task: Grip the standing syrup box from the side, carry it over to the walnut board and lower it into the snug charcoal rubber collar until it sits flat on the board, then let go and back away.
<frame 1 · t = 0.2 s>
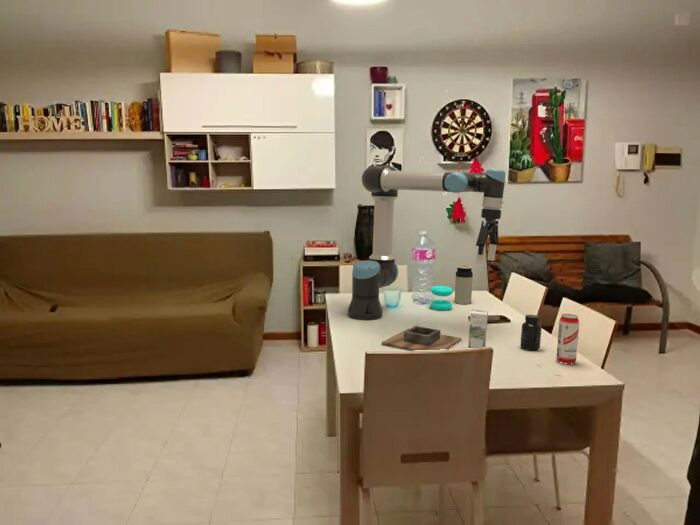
hand: (485, 261, 224), 27 cm above the table, tool pointing down, fingers open, 13 cm apart
syrup box: (476, 351, 198), on the table
supplement bottle: (530, 348, 202), on the table
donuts: (441, 309, 259), on the table
travel mug: (462, 303, 271), on the table
collar board: (422, 342, 206), on the table
butter knife: (535, 365, 186), on the table
beer can: (565, 362, 188), on the table
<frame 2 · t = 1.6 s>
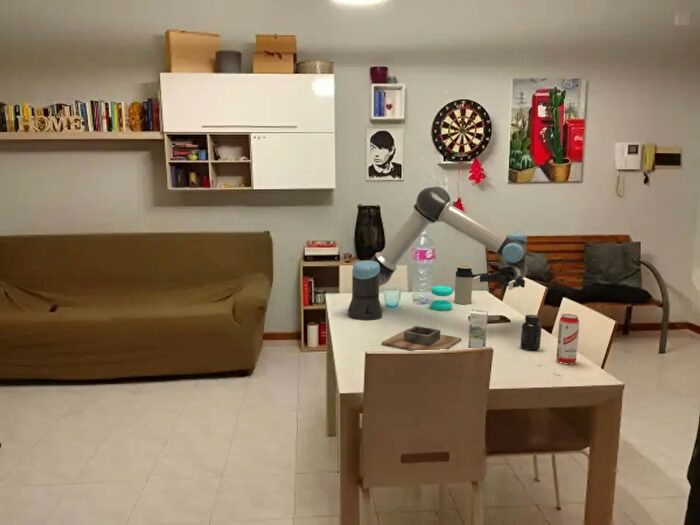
hand: (490, 284, 204), 22 cm above the table, tool horizontal, fingers open, 13 cm apart
nothing on the table moved.
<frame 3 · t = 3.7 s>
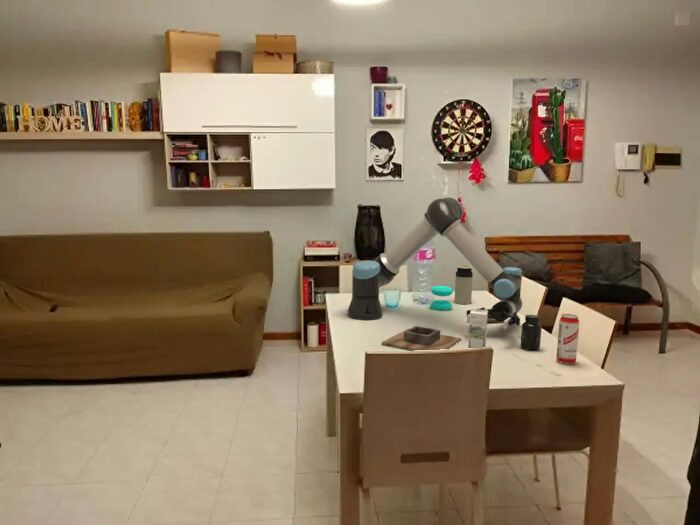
hand: (485, 322, 202), 9 cm above the table, tool horizontal, fingers open, 13 cm apart
nothing on the table moved.
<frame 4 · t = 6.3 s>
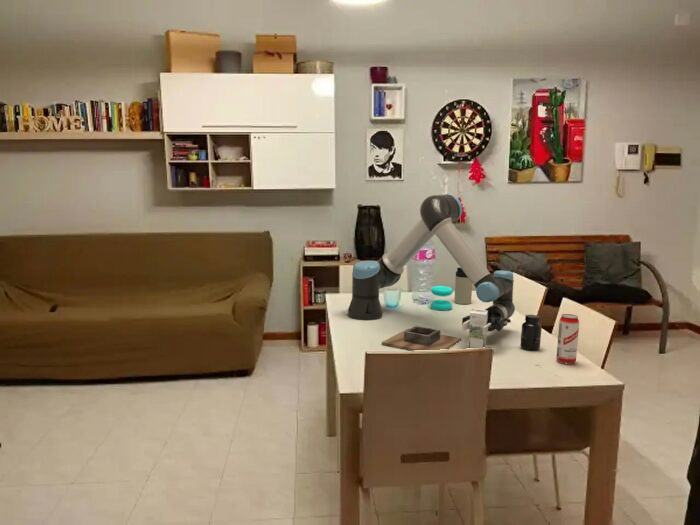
hand: (473, 329, 193), 9 cm above the table, tool horizontal, fingers closed on syrup box, 7 cm apart
syrup box: (476, 351, 198), on the table, touching gripper
everything else where it was.
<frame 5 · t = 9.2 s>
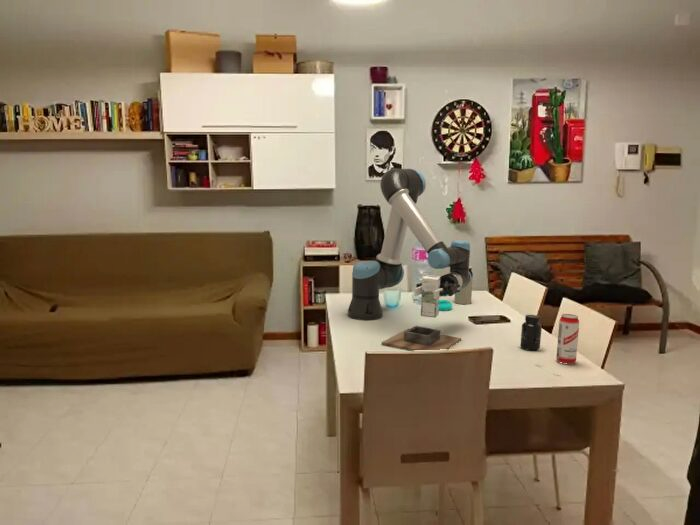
hand: (425, 293, 198), 20 cm above the table, tool horizontal, fingers closed on syrup box, 7 cm apart
syrup box: (429, 315, 203), point 11 cm above the table, touching gripper
everything else where it was.
when the fingers open (10 cm above the table, at t = 12.2 s): syrup box stays where it is, resting on collar board.
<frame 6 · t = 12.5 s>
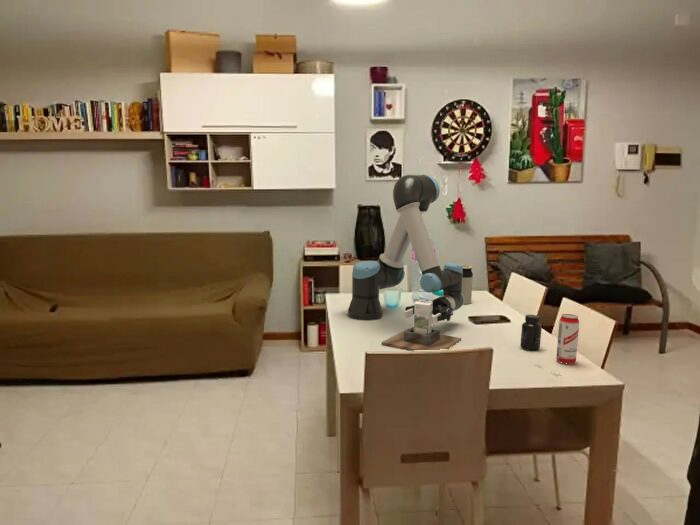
hand: (418, 318, 201), 10 cm above the table, tool horizontal, fingers open, 10 cm apart
syrup box: (422, 340, 206), point 1 cm above the table, touching collar board
everything else where it was.
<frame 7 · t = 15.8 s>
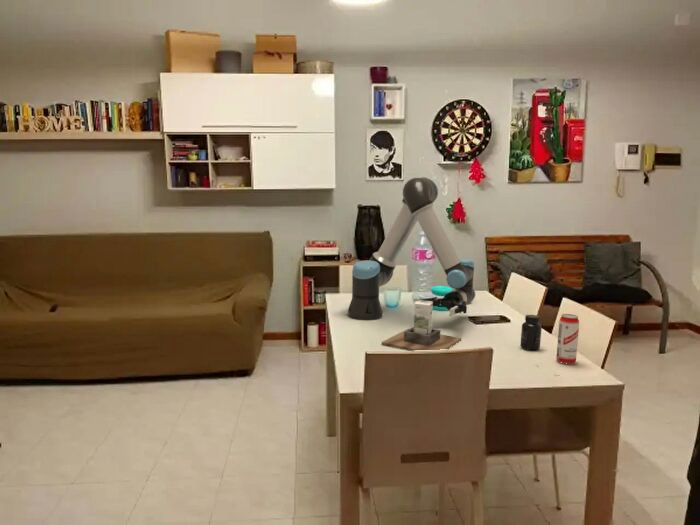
hand: (433, 310, 213), 10 cm above the table, tool horizontal, fingers open, 13 cm apart
nothing on the table moved.
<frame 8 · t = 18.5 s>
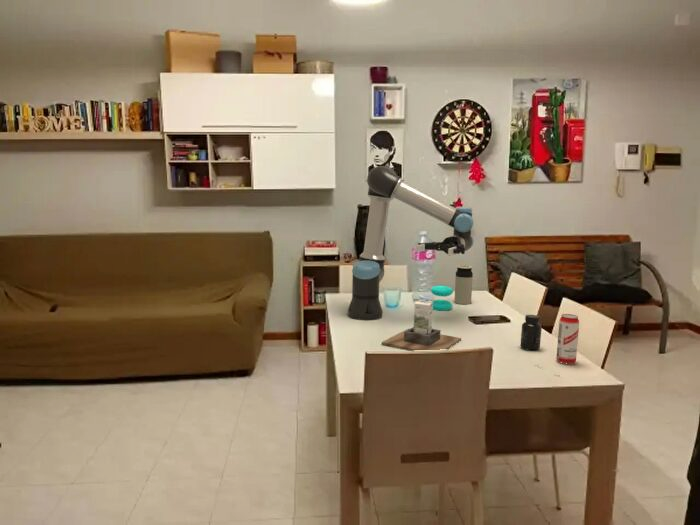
hand: (432, 250, 218), 32 cm above the table, tool horizontal, fingers open, 13 cm apart
at the end: syrup box 0.0 cm off-centre on the collar board, point 0.8 cm above the collar board's base; syrup box tilted 0°; the gripper is holding nothing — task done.
